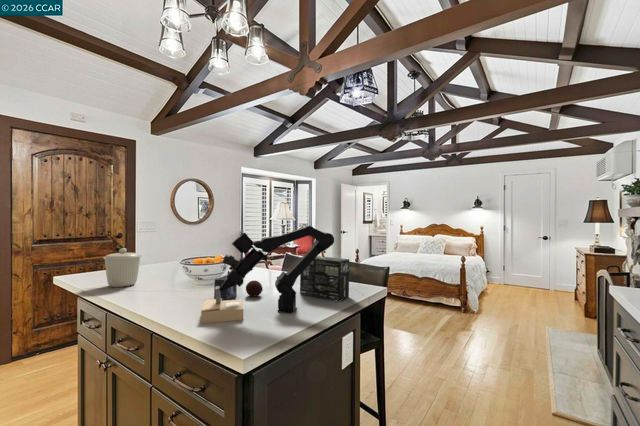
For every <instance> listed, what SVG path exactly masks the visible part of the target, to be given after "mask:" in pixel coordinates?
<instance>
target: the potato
mask: <svg viewBox="0 0 640 426" xmlns="http://www.w3.org/2000/svg"><path fill="white" fill-rule="evenodd" d="M245 291H246V293H247V295H248V296H250V297H258V296H260V295H261V294H262V292H263V286H262V284H261V282H260V281H258V280H250V281H249V282H247V284H246V285H245Z"/></svg>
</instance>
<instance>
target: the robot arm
mask: <svg viewBox="0 0 640 426" xmlns="http://www.w3.org/2000/svg"><path fill="white" fill-rule="evenodd" d="M308 236H309V237H310V238H312V239H314V242H313V245H312V246H311V247H310V248H309V249H308V251H306V253H305V254H304V255H303V256H302V258H301V257H300V259H299V260H298V261H297V262H296V264H294V266H293V267H291V269H289V270H288V271H287V272H285V271H284V270H283V271H282V272H281V273H280V274H279V275H278V276H277V277H276V280H275V282H274V284H275V285H274V286H275V289H276V290H277V292H278V293H280V295H279V297H278V300H277V312H278V313H287V314H293V313H294V312H296V310H297V309H298V307H297V306H296V305H297V300H296V299H297V291H295V289H294V288H293V287H294V285H295V283H296V281H297V279H298V278H299V277H300V274H301V273H302V272H303V271H304V270H305V269H306V268H307V267H308V265H309V264H310V263H311V262H312V261H313V260H314V259H315V258H316V257H317V256H320V254H321V253H323V252H325V251H326V250H328V249H329V248H330V247H332V246H333V244H334V243H335V237H334V235H333V234H332V233H329V232H323V231H321V230H319V229H317V228H315V227H313V226H312V225H306V226H304V227H301V228H298V229H296V230H293V231H290V232H289V231H288V232H286V233H284V234H283V233H282V234H281V235H280V234H279V235H274V236H268V237H267V236H265V237H263V238H262V239H261V240H255V241H253V240H252V239H251V238H250V237H249V236H248V234H247V233H246V232H243V233H242V234H241V235H239V236H238V237H237V238H236V239H234V241H233V242H232V243H231V245H232V246H233V247H234V248H235V249H236V250H237V251H238V252H239V253H240V254H241V255H242V254H246V255H245V256H243V257H242V258H240V259H238V258H236V257H235V256H233V255H229V254H225V255H224V257H223V260H222V264H224V265H228V266H229V268H228V269H229V270H230V271H229V270H228V271H227V278H226V280H225V281H224V283H223V284H222V286H221V287H220V289H219V290H220V291H223V290H225V289H228V288H230V287H233V286H235V285H237V286H238V287H241V286H242V285H243V284H244V279H245V278H246V276H247V275H248V274H249V273H250V272H252V271H253V270H254V268H255V267H256V266H257V265H258V264H259V263H260V262H261V261H262V260H263V261H265V262H268V257H269V256H268V253H271V252H273V251H275V250H276V249H278V248H280V247H281V246H283V245H285V244H288V243H291V242H293V241H296V240H300V239H302V238H305V237H308ZM257 249H258V250H257ZM264 253H266V254H264Z"/></svg>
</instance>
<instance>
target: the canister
mask: <svg viewBox="0 0 640 426" xmlns="http://www.w3.org/2000/svg"><path fill="white" fill-rule="evenodd" d="M127 249H128V248H125V247H122V248H120V249H119V250H118V252H115V253H110V254H106V255H105V256H103V257H102V258H103V259H104V266H105V274H106V282H107V284H108V286H109V287H110V286H111V288H125V287H124V286H127V287H131V286H134V285H135V284H136V283H137V281H138V275H139V271H140V262H141V257H142V254H140V253H138V252H137V253H136V252H127ZM133 284H134V285H133ZM130 285H131V286H130Z"/></svg>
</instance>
